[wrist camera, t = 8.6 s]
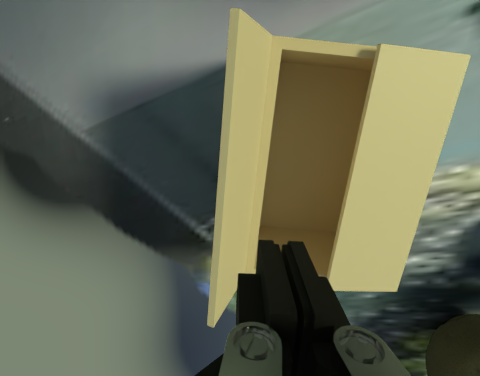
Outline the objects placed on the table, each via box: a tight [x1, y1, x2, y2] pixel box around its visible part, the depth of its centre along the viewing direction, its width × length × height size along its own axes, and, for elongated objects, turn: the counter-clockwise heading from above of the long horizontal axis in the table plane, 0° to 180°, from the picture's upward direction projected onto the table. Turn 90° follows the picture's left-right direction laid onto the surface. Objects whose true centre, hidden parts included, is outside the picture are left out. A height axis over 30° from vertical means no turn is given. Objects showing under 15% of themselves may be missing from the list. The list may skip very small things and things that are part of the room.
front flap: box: [207, 8, 272, 327], centre depth 21 cm, size 20×7×1 cm
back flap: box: [327, 44, 471, 292], centre depth 24 cm, size 20×7×1 cm, turn 175°
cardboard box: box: [245, 36, 377, 277], centre depth 29 cm, size 20×14×10 cm
